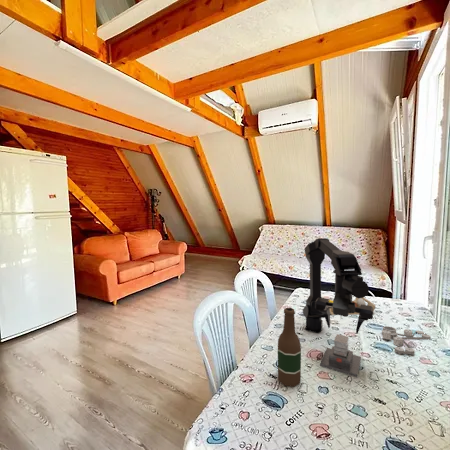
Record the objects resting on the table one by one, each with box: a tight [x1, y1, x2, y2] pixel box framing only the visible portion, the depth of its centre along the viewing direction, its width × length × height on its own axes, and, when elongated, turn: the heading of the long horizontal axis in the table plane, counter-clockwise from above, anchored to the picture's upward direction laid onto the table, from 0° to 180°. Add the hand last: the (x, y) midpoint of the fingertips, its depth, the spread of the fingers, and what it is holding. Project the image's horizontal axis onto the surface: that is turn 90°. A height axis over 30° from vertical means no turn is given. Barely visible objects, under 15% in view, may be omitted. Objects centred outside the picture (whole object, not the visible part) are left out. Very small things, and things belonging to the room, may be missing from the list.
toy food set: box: [329, 297, 376, 316], centre depth 145 cm, size 25×18×8 cm
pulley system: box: [381, 325, 431, 355], centre depth 111 cm, size 27×5×15 cm
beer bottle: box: [277, 307, 302, 388], centre depth 86 cm, size 8×8×24 cm
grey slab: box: [333, 333, 349, 358], centre depth 95 cm, size 4×6×8 cm
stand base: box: [319, 345, 362, 378], centre depth 95 cm, size 12×12×4 cm
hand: (342, 330), depth 95 cm, fingers open, 9 cm apart
